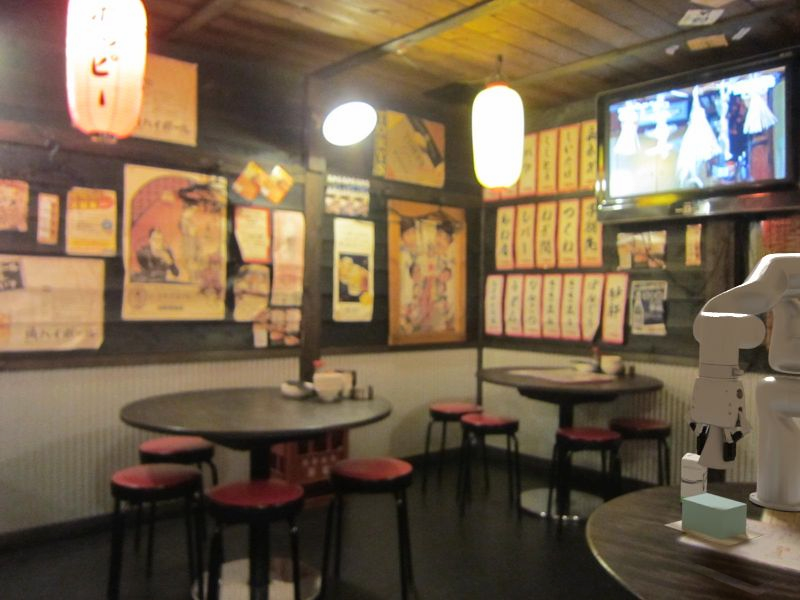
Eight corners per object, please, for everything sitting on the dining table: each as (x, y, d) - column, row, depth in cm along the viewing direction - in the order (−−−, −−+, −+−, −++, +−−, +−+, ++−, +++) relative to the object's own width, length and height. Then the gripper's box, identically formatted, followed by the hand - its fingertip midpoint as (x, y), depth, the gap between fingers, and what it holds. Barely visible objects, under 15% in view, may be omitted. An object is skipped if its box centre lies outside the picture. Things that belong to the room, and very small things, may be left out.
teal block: (706, 519, 146) (706, 492, 146) (746, 532, 139) (746, 504, 139) (681, 526, 141) (682, 498, 141) (721, 540, 134) (722, 510, 134)
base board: (702, 520, 150) (702, 514, 150) (764, 540, 138) (764, 534, 138) (663, 530, 142) (664, 524, 142) (726, 552, 130) (726, 546, 130)
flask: (738, 472, 136) (740, 423, 136) (701, 469, 137) (702, 421, 137) (728, 463, 143) (730, 417, 143) (693, 460, 144) (694, 415, 144)
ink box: (701, 511, 156) (703, 461, 156) (679, 507, 159) (680, 458, 159) (706, 502, 163) (708, 455, 163) (685, 498, 166) (686, 452, 166)
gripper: (768, 376, 135) (765, 465, 135) (691, 367, 149) (689, 447, 149) (748, 377, 131) (745, 469, 131) (671, 368, 145) (669, 451, 145)
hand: (715, 456), depth 140 cm, fingers closed on flask, 5 cm apart
